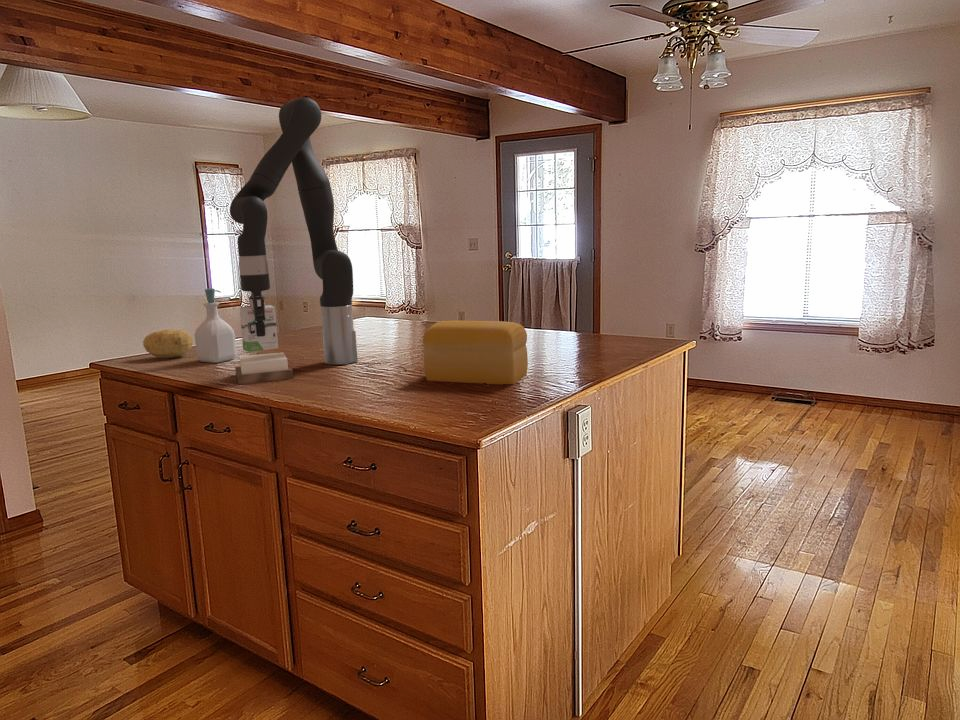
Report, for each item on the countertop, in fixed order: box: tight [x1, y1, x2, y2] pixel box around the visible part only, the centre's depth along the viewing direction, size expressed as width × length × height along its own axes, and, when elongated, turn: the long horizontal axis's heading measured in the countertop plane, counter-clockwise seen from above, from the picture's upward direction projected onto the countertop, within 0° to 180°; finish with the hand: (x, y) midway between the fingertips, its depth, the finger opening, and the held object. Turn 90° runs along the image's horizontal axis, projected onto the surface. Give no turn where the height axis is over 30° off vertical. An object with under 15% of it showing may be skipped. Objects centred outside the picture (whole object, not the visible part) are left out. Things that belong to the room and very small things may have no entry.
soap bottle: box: [194, 288, 238, 364], centre depth 215 cm, size 10×10×23 cm
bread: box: [422, 320, 529, 385], centre depth 178 cm, size 24×13×15 cm, turn 69°
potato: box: [142, 329, 194, 359], centre depth 224 cm, size 10×14×10 cm
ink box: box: [239, 304, 279, 353], centre depth 187 cm, size 9×5×12 cm, turn 123°
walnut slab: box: [234, 364, 294, 385], centre depth 190 cm, size 14×14×3 cm
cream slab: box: [239, 352, 289, 374], centre depth 190 cm, size 12×12×3 cm
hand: (260, 334), depth 188 cm, fingers closed on ink box, 5 cm apart
